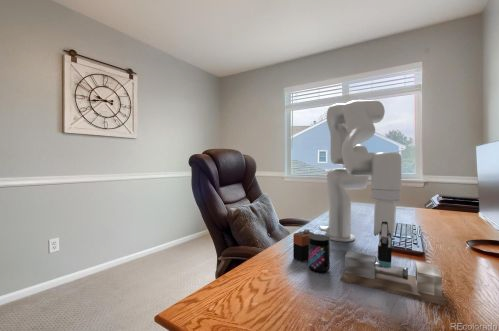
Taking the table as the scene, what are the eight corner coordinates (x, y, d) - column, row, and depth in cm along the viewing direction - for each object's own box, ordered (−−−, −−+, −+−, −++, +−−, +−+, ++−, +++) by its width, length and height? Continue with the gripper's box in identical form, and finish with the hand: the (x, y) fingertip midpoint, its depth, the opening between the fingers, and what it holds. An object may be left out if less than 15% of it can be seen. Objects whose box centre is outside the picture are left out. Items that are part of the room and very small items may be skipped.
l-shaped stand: (347, 268, 74) (347, 236, 74) (348, 265, 77) (349, 233, 77) (407, 281, 66) (408, 245, 66) (407, 277, 69) (407, 241, 69)
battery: (314, 258, 87) (314, 230, 87) (302, 263, 83) (302, 233, 83) (305, 254, 91) (305, 227, 91) (292, 259, 87) (292, 231, 87)
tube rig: (340, 280, 71) (340, 259, 71) (347, 265, 81) (348, 247, 81) (445, 305, 59) (445, 280, 59) (438, 284, 69) (438, 263, 69)
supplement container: (304, 265, 81) (304, 234, 81) (323, 264, 82) (323, 233, 82) (313, 275, 74) (313, 241, 74) (333, 273, 76) (334, 239, 75)
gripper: (373, 191, 80) (373, 245, 80) (368, 198, 65) (367, 264, 65) (400, 192, 76) (400, 249, 76) (401, 200, 61) (400, 270, 61)
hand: (385, 255), depth 70 cm, fingers open, 7 cm apart
